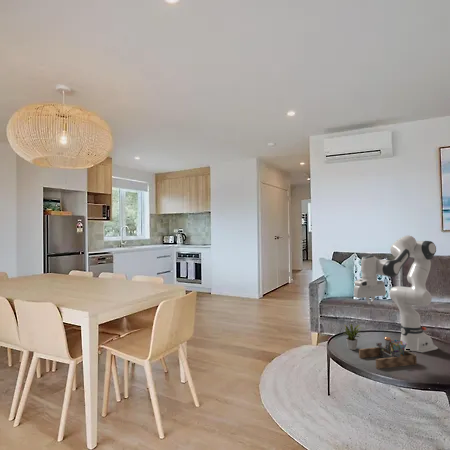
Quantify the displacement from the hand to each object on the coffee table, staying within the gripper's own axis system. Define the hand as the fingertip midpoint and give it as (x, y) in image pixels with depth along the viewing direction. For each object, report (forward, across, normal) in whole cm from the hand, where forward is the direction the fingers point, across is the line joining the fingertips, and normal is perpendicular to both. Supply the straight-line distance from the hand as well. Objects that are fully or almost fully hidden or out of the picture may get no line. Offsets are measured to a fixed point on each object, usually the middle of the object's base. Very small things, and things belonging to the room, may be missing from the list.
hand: (370, 303), depth 205 cm
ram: (+31, -3, +10) cm, 33 cm away
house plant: (+32, +4, -13) cm, 35 cm away
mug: (+32, -8, +10) cm, 34 cm away
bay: (+32, -2, +10) cm, 33 cm away
